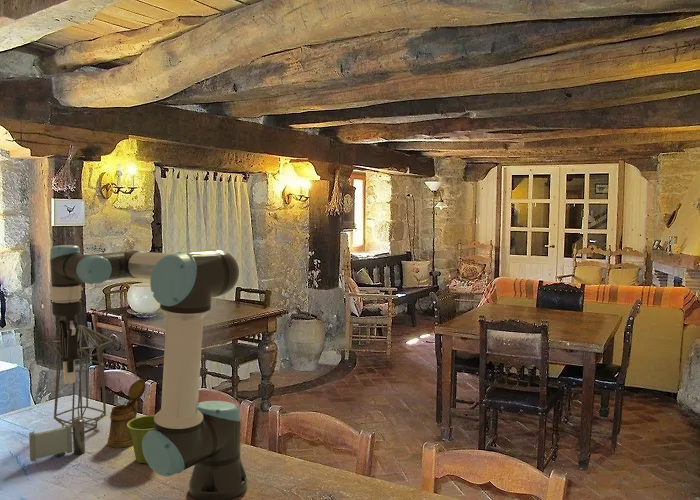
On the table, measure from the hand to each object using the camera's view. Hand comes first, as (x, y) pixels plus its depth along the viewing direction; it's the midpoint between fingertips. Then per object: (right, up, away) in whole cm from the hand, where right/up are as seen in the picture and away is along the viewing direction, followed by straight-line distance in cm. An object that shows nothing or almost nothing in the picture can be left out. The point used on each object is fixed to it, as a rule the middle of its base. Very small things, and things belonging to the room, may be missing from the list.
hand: (69, 382), depth 174 cm
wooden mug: (+9, -23, +21) cm, 32 cm away
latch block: (-7, -24, +9) cm, 26 cm away
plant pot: (+20, -24, +7) cm, 32 cm away
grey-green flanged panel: (-8, -23, +6) cm, 25 cm away
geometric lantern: (-9, -22, +29) cm, 38 cm away
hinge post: (-2, -24, +11) cm, 26 cm away
